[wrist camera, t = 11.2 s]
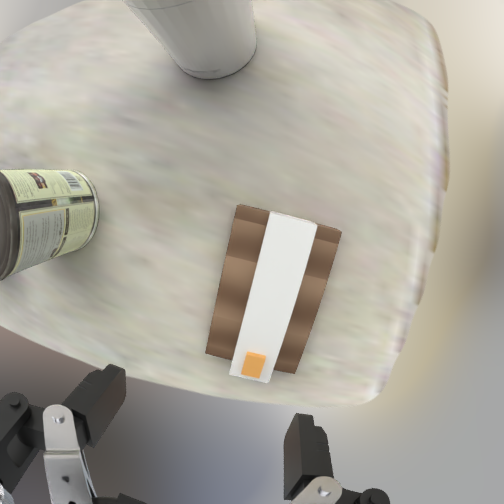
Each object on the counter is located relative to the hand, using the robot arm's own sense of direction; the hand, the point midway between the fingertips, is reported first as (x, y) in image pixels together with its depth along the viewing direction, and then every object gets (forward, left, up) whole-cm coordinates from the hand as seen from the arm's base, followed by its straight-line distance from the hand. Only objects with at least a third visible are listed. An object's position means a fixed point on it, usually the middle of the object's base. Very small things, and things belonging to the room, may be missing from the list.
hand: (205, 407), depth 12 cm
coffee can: (-3, -23, -20) cm, 31 cm away
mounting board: (0, +3, -19) cm, 20 cm away
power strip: (0, +3, -19) cm, 19 cm away
